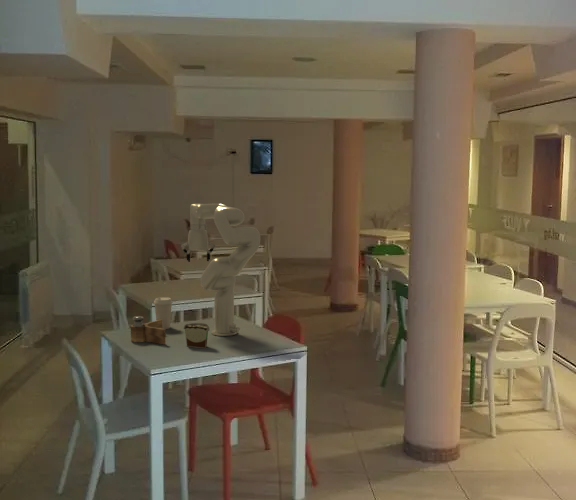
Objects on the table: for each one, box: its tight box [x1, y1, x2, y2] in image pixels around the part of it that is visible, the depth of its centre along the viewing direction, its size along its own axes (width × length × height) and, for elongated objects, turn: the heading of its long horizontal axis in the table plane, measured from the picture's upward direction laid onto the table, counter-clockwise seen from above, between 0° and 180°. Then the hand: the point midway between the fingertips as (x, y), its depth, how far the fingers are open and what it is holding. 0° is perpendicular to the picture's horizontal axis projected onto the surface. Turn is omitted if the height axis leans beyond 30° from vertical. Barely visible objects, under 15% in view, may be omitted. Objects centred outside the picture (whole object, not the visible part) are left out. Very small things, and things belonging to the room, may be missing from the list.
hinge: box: [130, 320, 166, 345], centre depth 342 cm, size 20×20×7 cm
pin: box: [132, 315, 145, 327], centre depth 340 cm, size 5×5×11 cm
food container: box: [183, 322, 210, 349], centre depth 329 cm, size 12×6×10 cm, turn 71°
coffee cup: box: [153, 296, 173, 330], centre depth 366 cm, size 10×10×15 cm
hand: (198, 261), depth 369 cm, fingers open, 9 cm apart
